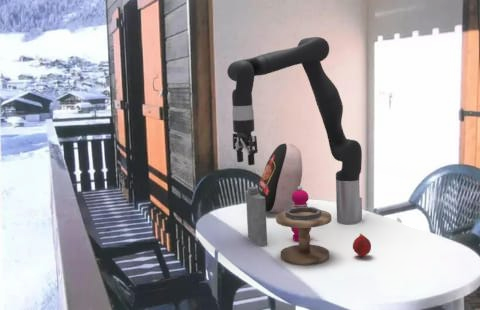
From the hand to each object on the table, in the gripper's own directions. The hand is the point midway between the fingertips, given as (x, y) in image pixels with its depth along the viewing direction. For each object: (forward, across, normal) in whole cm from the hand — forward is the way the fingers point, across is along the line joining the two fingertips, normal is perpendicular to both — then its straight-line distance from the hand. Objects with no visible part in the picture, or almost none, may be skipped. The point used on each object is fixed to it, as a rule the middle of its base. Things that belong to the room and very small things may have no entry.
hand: (245, 163), depth 197 cm
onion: (+29, -36, -22) cm, 52 cm away
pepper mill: (+29, -9, -16) cm, 35 cm away
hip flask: (+29, 0, -3) cm, 30 cm away
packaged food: (+30, +30, -31) cm, 52 cm away
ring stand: (+29, -25, -7) cm, 39 cm away
